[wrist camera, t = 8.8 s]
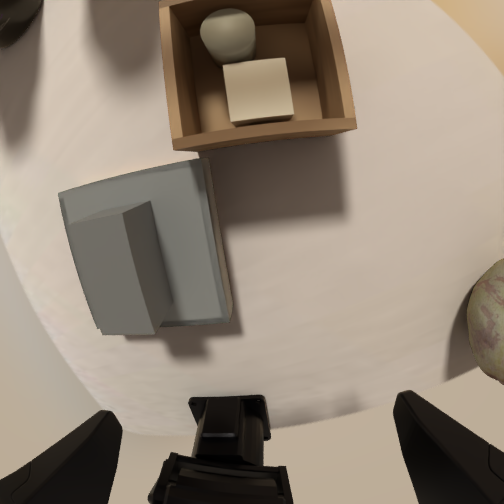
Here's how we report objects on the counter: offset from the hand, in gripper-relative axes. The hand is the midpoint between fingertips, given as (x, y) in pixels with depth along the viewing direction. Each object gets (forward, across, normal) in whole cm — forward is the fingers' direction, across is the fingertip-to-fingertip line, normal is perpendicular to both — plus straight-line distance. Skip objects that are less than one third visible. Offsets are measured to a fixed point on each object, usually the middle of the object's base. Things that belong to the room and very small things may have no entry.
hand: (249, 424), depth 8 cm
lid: (+12, +6, -3) cm, 14 cm away
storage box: (+12, -2, -12) cm, 17 cm away
